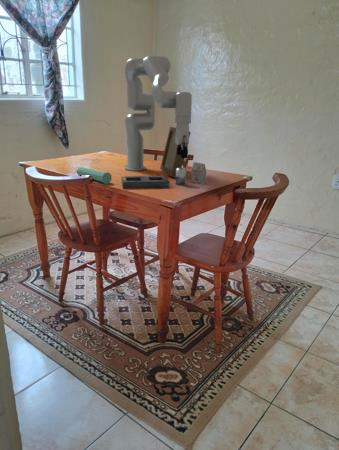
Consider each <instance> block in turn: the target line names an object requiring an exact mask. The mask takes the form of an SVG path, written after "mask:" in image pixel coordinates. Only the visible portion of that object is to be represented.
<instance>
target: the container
mask: <svg viewBox="0 0 339 450" xmlns="http://www.w3.org/2000/svg"><path fill="white" fill-rule="evenodd" d="M76 174H77V175H78V176H79V175H91V176H92V177H93V179H94V180H93V181H97V182H101V183H103V184H104V185H108V184H110V183H111V182H112V179H113V178H112V174H111V173H110V172H108V171H107V172H104V171H100V170H96V169H92V168H88V167H84V166H79V167H78V168H77V169H76Z"/></svg>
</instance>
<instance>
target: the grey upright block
mask: <svg viewBox="0 0 339 450" xmlns="http://www.w3.org/2000/svg"><path fill="white" fill-rule="evenodd" d="M192 164H193V165H192V167H191V173H190V174H191V175H190V183H194V184H198V185H204V184H206V183H207V169H206V163H202V162H195V161H194V162H193V163H192Z"/></svg>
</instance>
